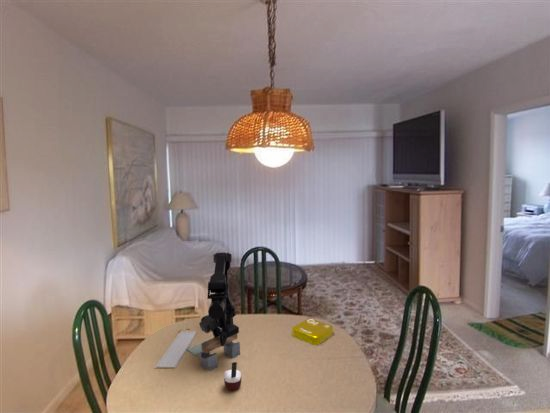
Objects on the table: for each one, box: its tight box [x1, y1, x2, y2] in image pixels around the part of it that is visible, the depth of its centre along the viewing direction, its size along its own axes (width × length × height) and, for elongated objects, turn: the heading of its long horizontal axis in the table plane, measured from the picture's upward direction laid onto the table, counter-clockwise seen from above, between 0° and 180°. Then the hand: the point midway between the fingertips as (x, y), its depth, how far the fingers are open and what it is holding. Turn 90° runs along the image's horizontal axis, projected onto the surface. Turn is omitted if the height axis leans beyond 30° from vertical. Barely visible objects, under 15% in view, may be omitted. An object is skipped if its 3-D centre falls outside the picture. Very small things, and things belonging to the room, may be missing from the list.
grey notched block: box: [199, 351, 218, 372], centre depth 136 cm, size 4×6×6 cm, turn 46°
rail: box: [200, 333, 238, 353], centre depth 140 cm, size 16×3×3 cm, turn 136°
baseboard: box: [153, 328, 198, 370], centre depth 150 cm, size 30×3×10 cm
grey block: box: [223, 341, 241, 359], centre depth 145 cm, size 4×6×6 cm, turn 46°
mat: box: [186, 336, 214, 357], centre depth 153 cm, size 17×7×1 cm, turn 136°
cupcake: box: [223, 361, 242, 391], centre depth 122 cm, size 10×6×12 cm, turn 175°
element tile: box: [291, 318, 334, 346], centre depth 161 cm, size 15×15×5 cm
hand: (220, 344), depth 140 cm, fingers closed on rail, 3 cm apart
